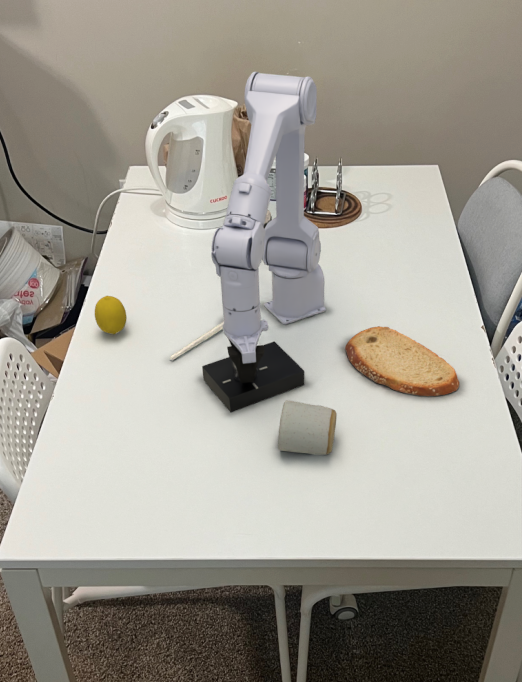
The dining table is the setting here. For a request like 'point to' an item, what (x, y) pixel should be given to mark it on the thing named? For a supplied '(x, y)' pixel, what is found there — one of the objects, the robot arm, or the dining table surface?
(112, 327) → the lemon
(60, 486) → the dining table surface
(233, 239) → the robot arm
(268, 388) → the black knob base
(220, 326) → the fork
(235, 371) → the hob knob
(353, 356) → the bread slice
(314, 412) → the ceramic mug
